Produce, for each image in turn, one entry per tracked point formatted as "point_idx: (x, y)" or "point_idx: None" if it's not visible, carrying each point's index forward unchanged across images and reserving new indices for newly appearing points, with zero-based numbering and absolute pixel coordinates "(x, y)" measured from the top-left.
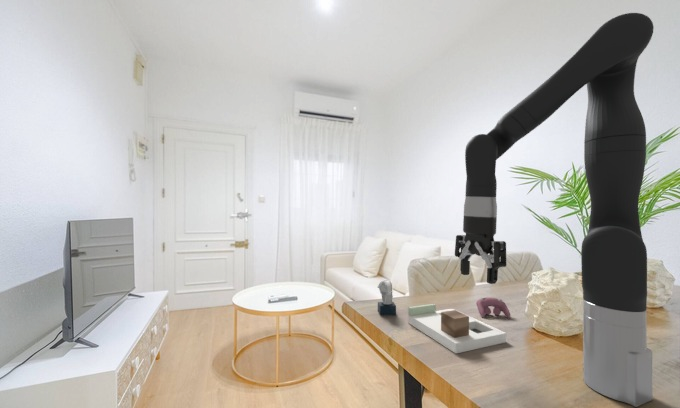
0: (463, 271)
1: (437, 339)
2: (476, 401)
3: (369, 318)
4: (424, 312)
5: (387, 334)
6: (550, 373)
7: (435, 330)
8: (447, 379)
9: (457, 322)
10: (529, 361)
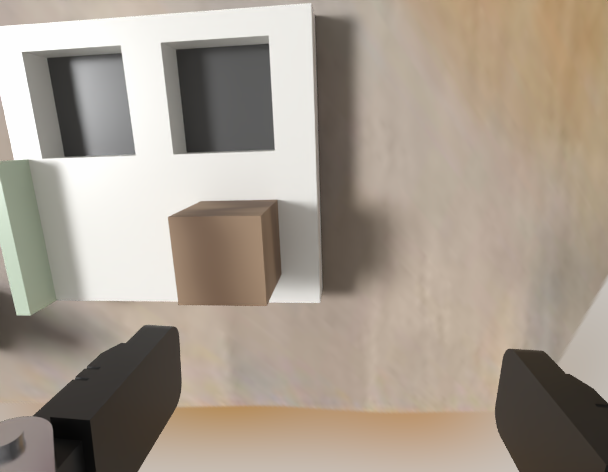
0: (166, 414)
1: None
2: None
3: (9, 395)
4: (36, 227)
5: None
6: (545, 76)
7: None
8: (426, 408)
9: (268, 280)
10: (460, 72)
